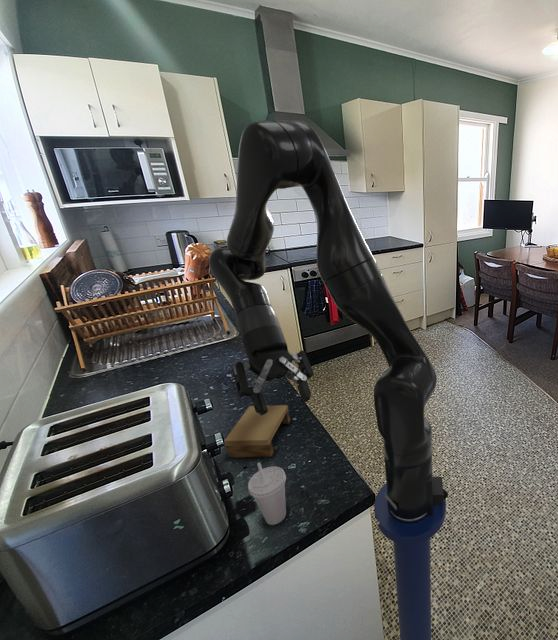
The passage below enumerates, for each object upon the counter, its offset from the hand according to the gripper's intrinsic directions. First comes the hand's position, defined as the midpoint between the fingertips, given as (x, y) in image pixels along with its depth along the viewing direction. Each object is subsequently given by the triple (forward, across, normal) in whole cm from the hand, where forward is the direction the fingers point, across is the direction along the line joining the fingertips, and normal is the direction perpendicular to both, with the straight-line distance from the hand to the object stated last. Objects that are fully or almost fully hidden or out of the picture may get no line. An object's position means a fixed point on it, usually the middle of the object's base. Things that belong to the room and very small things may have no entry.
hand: (286, 406), depth 66 cm
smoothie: (+18, -3, +12) cm, 22 cm away
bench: (0, +5, +28) cm, 29 cm away
